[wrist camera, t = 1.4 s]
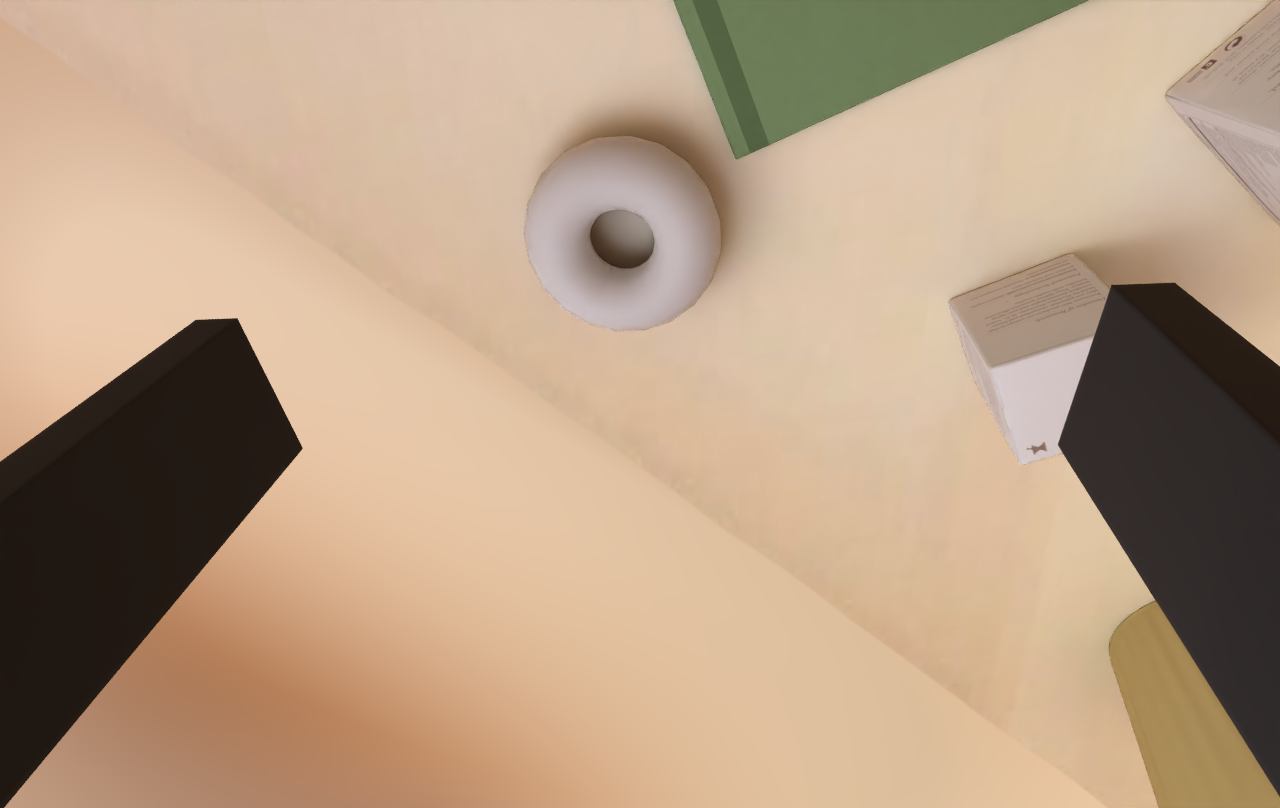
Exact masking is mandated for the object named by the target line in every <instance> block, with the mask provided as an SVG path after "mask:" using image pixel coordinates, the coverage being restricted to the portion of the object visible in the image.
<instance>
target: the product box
mask: <svg viewBox="0 0 1280 808" xmlns="http://www.w3.org/2000/svg"><path fill="white" fill-rule="evenodd" d="M1109 291H1110V287H1109V286H1108V285H1106V284H1105V283H1104V282H1103V281H1102V280H1101V279H1100V278H1099V277H1098V276H1097V275H1096V274H1095V273H1094V272H1093V271H1092V270H1091V269H1090V268H1089V267H1088V266H1087V265H1086V264H1085V263H1084V262H1082V261H1081V260H1080V259H1079V258H1078V257H1077V256H1076V255H1075V254H1066V255H1064V256H1061V257H1059V258H1056V259H1053V260H1051V261H1048V262H1046V263H1043V264H1041V265H1038V266H1036V267H1033V268H1031V269H1028V270H1025V271H1023V272H1020V273H1018V274H1016V275H1013V276H1010V277H1007V278H1005V279H1002V280H1000V281H997V282H995V283H992V284H989V285H987V286H984V287H981V288H979V289H976V290H974V291H971V292H968V293H966V294H963V295H960V296H958V297H955V298H953V299H951V300H949V306H950V309H951V313H952V316H953V319H954V322H955V326H956V329H957V332H958V335H959V338H960V341H961V344H962V347H963V350H964V352H965V355H966V358H967V361H968V364H969V367H970V369H971V372H972V375H973V377H974V380H975V383H976V385H977V387H978V389H979V391H980V393H981V395H982V397H983V399H984V401H985V402H986V404H987V406H988V408H989V410H990V411H991V413H992V415H993V417H994V419H995V421H996V423H997V425H998V426H999V428H1000V430H1001V432H1002V434H1003V436H1004V438H1005V439H1006V441H1007V443H1008V445H1009V447H1010V449H1011V450H1012V452H1013V454H1014V456H1015V458H1016V459H1017V461H1018V462H1019V463H1020V464H1021V465H1025V464H1029V463H1032V462H1035V461H1039V460H1042V459H1046V458H1049V457H1053V456H1056V455H1060V454H1063V453H1062V451H1061V449H1060V448H1059V446H1058V442H1059V439H1060V436H1061V433H1062V430H1063V427H1064V424H1065V421H1066V418H1067V415H1068V412H1069V409H1070V406H1071V404H1072V401H1073V398H1074V395H1075V392H1076V389H1077V386H1078V383H1079V380H1080V377H1081V374H1082V371H1083V368H1084V365H1085V362H1086V359H1087V356H1088V353H1089V350H1090V347H1091V344H1092V341H1093V338H1094V335H1095V332H1096V329H1097V326H1098V324H1099V321H1100V318H1101V315H1102V312H1103V309H1104V306H1105V303H1106V300H1107V297H1108V294H1109Z"/></svg>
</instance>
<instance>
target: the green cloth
mask: <svg viewBox="0 0 1280 808" xmlns="http://www.w3.org/2000/svg"><path fill="white" fill-rule="evenodd" d="M1086 1H1088V0H674V3H675V5H676V8H677V10H678V13H679V16H680V18H681V21H682V23H683V26H684V28H685V31H686V33H687V36H688V39H689V41H690V44H691V46H692V49H693V51H694V54H695V56H696V59H697V61H698V64H699V67H700V69H701V72H702V74H703V77H704V79H705V82H706V84H707V87H708V89H709V92H710V95H711V97H712V100H713V102H714V105H715V107H716V110H717V112H718V115H719V118H720V120H721V123H722V125H723V128H724V130H725V133H726V135H727V138H728V140H729V143H730V146H731V148H732V151H733V153H734V156H735V158H736V159H739V158H741V157H743V156H745V155H748V154H750V153H752V152H754V151H757V150H759V149H761V148H763V147H765V146H768V145H770V144H772V143H774V142H776V141H779V140H781V139H783V138H785V137H787V136H790V135H792V134H794V133H796V132H799V131H801V130H803V129H805V128H807V127H810V126H812V125H814V124H816V123H818V122H821V121H823V120H825V119H827V118H829V117H832V116H834V115H836V114H838V113H841V112H843V111H845V110H847V109H849V108H852V107H854V106H856V105H858V104H860V103H863V102H865V101H867V100H869V99H871V98H874V97H876V96H878V95H880V94H883V93H885V92H887V91H889V90H891V89H894V88H896V87H898V86H900V85H902V84H905V83H907V82H909V81H911V80H913V79H916V78H918V77H920V76H922V75H925V74H927V73H929V72H931V71H933V70H936V69H938V68H940V67H942V66H944V65H947V64H949V63H951V62H953V61H955V60H958V59H960V58H962V57H964V56H967V55H969V54H971V53H973V52H975V51H978V50H980V49H982V48H984V47H986V46H989V45H991V44H993V43H995V42H998V41H1000V40H1002V39H1004V38H1006V37H1009V36H1011V35H1013V34H1015V33H1017V32H1020V31H1022V30H1024V29H1026V28H1028V27H1031V26H1033V25H1035V24H1037V23H1040V22H1042V21H1044V20H1046V19H1048V18H1051V17H1053V16H1055V15H1057V14H1059V13H1062V12H1064V11H1066V10H1068V9H1070V8H1073V7H1075V6H1077V5H1079V4H1082V3H1084V2H1086Z"/></svg>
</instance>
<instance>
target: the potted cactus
mask: <svg viewBox="0 0 1280 808" xmlns="http://www.w3.org/2000/svg"><path fill="white" fill-rule="evenodd" d="M1109 653H1110V657H1111V658H1110V660H1111V664H1112V667H1113V670H1114V673H1115V676H1116V679H1117V682H1118V685H1119V688H1120V691H1121V694H1122V697H1123V700H1124V703H1125V706H1126V709H1127V712H1128V715H1129V718H1130V721H1131V724H1132V727H1133V730H1134V733H1135V736H1136V739H1137V742H1138V745H1139V748H1140V752H1141V755H1142V758H1143V761H1144V764H1145V767H1146V770H1147V773H1148V776H1149V779H1150V782H1151V785H1152V788H1153V791H1154V794H1155V797H1156V800H1157V803H1158V806H1159V808H1280V797H1279V795H1278V794H1277V792H1276V790H1275V789H1274V787H1273V786H1272V784H1271V783H1270V781H1269V779H1268V778H1267V776H1266V775H1265V773H1264V771H1263V770H1262V768H1261V767H1260V765H1259V764H1258V762H1257V760H1256V759H1255V757H1254V756H1253V754H1252V752H1251V751H1250V749H1249V748H1248V746H1247V744H1246V743H1245V741H1244V740H1243V738H1242V737H1241V735H1240V733H1239V732H1238V730H1237V729H1236V727H1235V725H1234V724H1233V722H1232V721H1231V719H1230V718H1229V716H1228V714H1227V713H1226V711H1225V710H1224V708H1223V706H1222V705H1221V703H1220V702H1219V700H1218V698H1217V697H1216V695H1215V694H1214V692H1213V691H1212V689H1211V687H1210V686H1209V684H1208V683H1207V681H1206V679H1205V678H1204V676H1203V675H1202V673H1201V672H1200V670H1199V668H1198V667H1197V665H1196V664H1195V662H1194V660H1193V659H1192V657H1191V656H1190V654H1189V652H1188V651H1187V649H1186V648H1185V646H1184V645H1183V643H1182V641H1181V640H1180V638H1179V637H1178V635H1177V633H1176V632H1175V630H1174V629H1173V627H1172V626H1171V624H1170V622H1169V621H1168V619H1167V618H1166V616H1165V614H1164V613H1163V611H1162V610H1161V608H1160V606H1159V605H1158V603H1157V602H1156V601H1155V602H1153V603H1151V604H1149V605H1147V606H1145V607H1143V608H1141V609H1139V610H1138V611H1136V612H1135V613H1133V614H1132V615H1130V616H1129V617H1128V618H1127V619H1126V620H1124V621H1123V622H1122V623H1121V624H1120V625H1119V627H1118V628H1117V629H1116V631H1115V632H1114V634H1113V636H1112V638H1111V641H1110V644H1109Z"/></svg>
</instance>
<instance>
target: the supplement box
mask: <svg viewBox="0 0 1280 808" xmlns="http://www.w3.org/2000/svg"><path fill="white" fill-rule="evenodd" d="M1165 98H1166V100H1167V101H1168V103H1169V104H1170V105H1171V106H1172V108H1173V109H1174V110H1175V111H1176V112H1177V114H1178V115H1179V116H1180V117H1181V118H1182V119H1183V120H1184V122H1185V123H1186V124H1187V125H1188V126H1189V127H1190V128H1191V130H1192V131H1193V132H1194V133H1195V134H1196V135H1197V136H1198V137H1199V139H1200V140H1201V141H1202V142H1203V143H1204V144H1205V145H1206V146H1207V147H1208V148H1209V150H1210V151H1211V152H1212V153H1213V154H1214V155H1215V156H1216V157H1217V158H1218V159H1219V160H1220V161H1221V162H1222V164H1223V165H1224V166H1225V167H1226V168H1227V169H1228V170H1229V171H1230V173H1231V174H1232V175H1233V176H1234V177H1235V178H1236V179H1237V180H1238V182H1239V183H1240V184H1241V185H1242V186H1243V187H1244V188H1245V189H1246V190H1247V192H1248V193H1249V194H1250V195H1251V196H1252V197H1253V198H1254V199H1255V201H1256V202H1257V203H1258V204H1259V205H1260V206H1261V207H1262V209H1263V210H1264V211H1265V212H1266V213H1267V214H1268V215H1269V216H1270V218H1271V219H1272V220H1273V221H1274V222H1275V223H1276V224H1277V225H1279V226H1280V0H1274V1H1273V2H1272V3H1271V4H1269V5H1268V6H1267V7H1266V8H1265V9H1264V10H1262V11H1261V12H1260V13H1259V14H1258V15H1256V16H1255V17H1254V18H1253V19H1252V20H1250V21H1249V22H1248V23H1247V24H1246V25H1245V26H1243V27H1242V28H1241V29H1240V30H1239V31H1237V32H1236V33H1235V34H1234V35H1233V36H1231V37H1230V38H1229V39H1228V40H1227V41H1226V42H1224V43H1223V44H1222V45H1221V46H1220V47H1219V48H1217V49H1216V50H1215V51H1214V52H1213V53H1212V54H1210V55H1209V56H1208V57H1207V58H1206V59H1204V60H1203V61H1202V62H1201V63H1200V64H1199V65H1197V66H1196V67H1195V68H1194V69H1193V70H1192V71H1190V72H1189V73H1188V74H1187V75H1186V76H1184V77H1183V78H1182V79H1181V80H1180V81H1179V82H1177V83H1176V84H1175V85H1174V86H1173V87H1172V88H1171V89H1170V90H1168V91H1167V92H1166V95H1165Z"/></svg>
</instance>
